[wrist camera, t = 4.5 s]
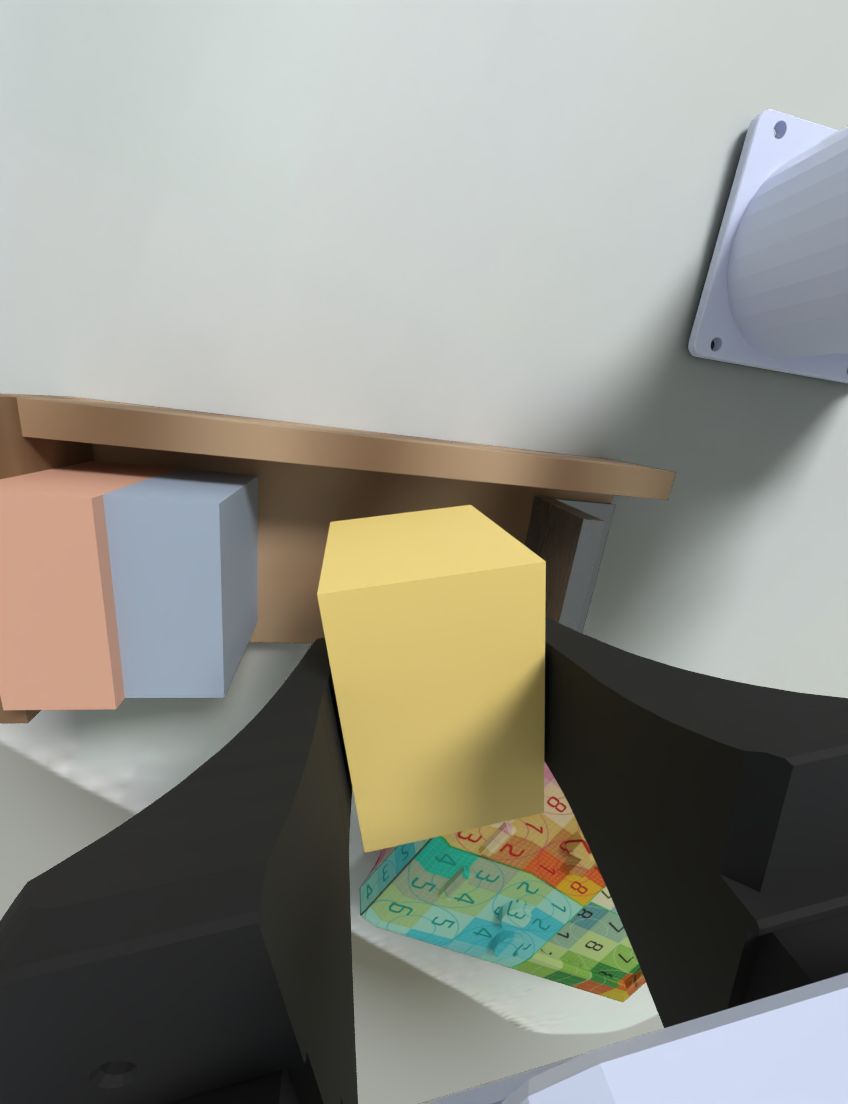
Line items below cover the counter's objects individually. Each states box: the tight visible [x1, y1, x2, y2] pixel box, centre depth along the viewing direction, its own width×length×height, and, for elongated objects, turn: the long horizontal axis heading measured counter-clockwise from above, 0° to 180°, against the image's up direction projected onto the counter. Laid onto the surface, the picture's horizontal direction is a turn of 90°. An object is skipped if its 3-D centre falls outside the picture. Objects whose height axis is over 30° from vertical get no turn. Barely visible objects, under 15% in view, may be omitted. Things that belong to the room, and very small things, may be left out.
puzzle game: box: [360, 761, 646, 1002], centre depth 24 cm, size 12×5×20 cm
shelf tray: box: [0, 393, 676, 723], centre depth 15 cm, size 21×9×6 cm, turn 84°
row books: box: [0, 461, 258, 710], centre depth 14 cm, size 5×6×6 cm
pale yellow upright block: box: [317, 505, 546, 853], centre depth 11 cm, size 4×6×5 cm, turn 5°
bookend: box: [525, 496, 615, 633], centre depth 17 cm, size 4×6×4 cm, turn 173°
